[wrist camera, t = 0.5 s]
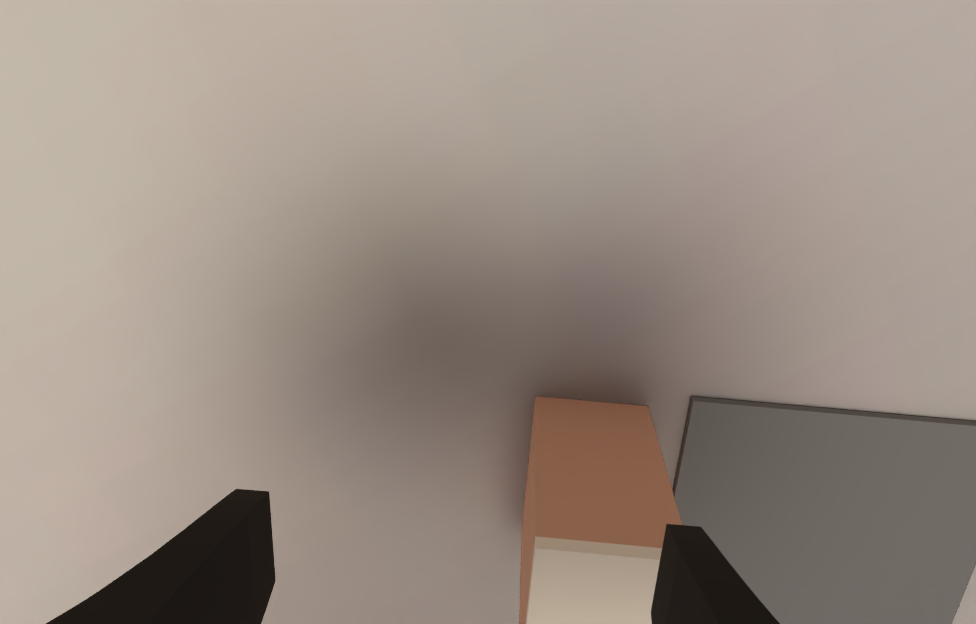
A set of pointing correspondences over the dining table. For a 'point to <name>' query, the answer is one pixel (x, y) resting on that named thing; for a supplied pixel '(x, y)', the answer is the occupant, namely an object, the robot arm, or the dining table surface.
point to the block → (592, 514)
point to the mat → (834, 508)
